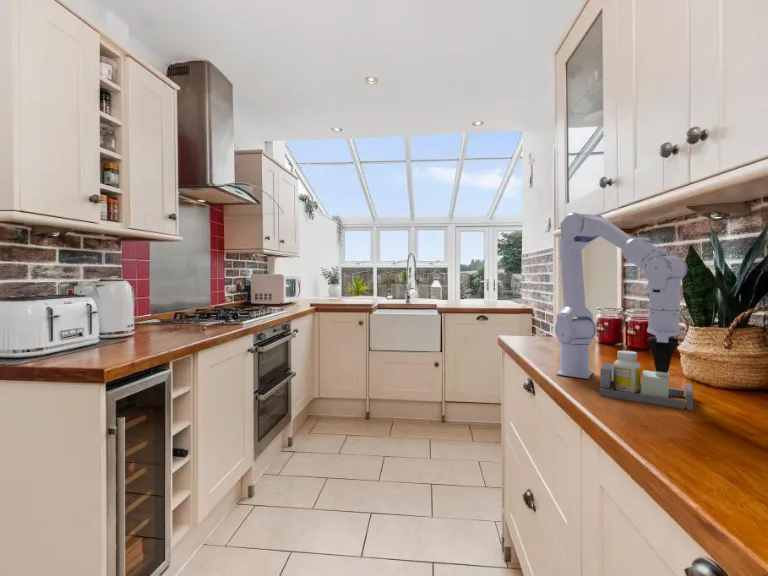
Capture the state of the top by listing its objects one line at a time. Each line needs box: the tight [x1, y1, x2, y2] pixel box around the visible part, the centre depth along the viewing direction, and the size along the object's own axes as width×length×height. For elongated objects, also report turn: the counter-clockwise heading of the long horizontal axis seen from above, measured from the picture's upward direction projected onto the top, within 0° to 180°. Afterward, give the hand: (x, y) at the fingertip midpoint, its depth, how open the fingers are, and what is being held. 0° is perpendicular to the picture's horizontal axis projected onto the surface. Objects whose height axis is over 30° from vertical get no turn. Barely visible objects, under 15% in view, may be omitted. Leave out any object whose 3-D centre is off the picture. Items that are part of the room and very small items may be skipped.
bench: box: [598, 362, 694, 411], centre depth 95 cm, size 11×17×6 cm, turn 55°
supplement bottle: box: [613, 350, 642, 394], centre depth 97 cm, size 5×5×10 cm
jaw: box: [640, 369, 670, 398], centre depth 94 cm, size 7×5×10 cm
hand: (661, 370), depth 93 cm, fingers closed on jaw, 2 cm apart
